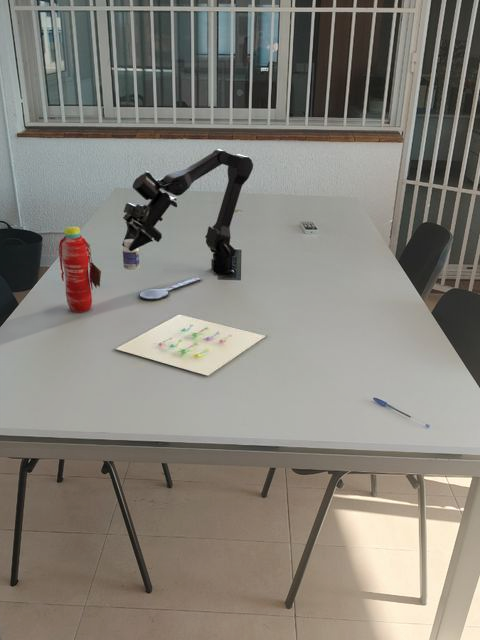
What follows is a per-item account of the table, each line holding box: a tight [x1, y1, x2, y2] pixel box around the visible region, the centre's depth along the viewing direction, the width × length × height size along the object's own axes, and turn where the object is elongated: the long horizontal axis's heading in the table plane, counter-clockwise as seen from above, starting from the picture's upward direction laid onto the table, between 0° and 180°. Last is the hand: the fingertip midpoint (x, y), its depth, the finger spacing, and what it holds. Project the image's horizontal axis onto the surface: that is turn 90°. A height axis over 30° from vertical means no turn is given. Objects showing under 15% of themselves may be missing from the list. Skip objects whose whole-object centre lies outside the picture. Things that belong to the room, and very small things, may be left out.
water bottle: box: [58, 226, 102, 313], centre depth 210 cm, size 12×8×25 cm, turn 94°
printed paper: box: [115, 314, 266, 377], centre depth 194 cm, size 30×30×2 cm
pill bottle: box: [121, 239, 141, 271], centre depth 228 cm, size 5×5×9 cm
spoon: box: [139, 277, 201, 302], centre depth 232 cm, size 26×8×1 cm, turn 139°
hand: (126, 248), depth 226 cm, fingers closed on pill bottle, 5 cm apart
